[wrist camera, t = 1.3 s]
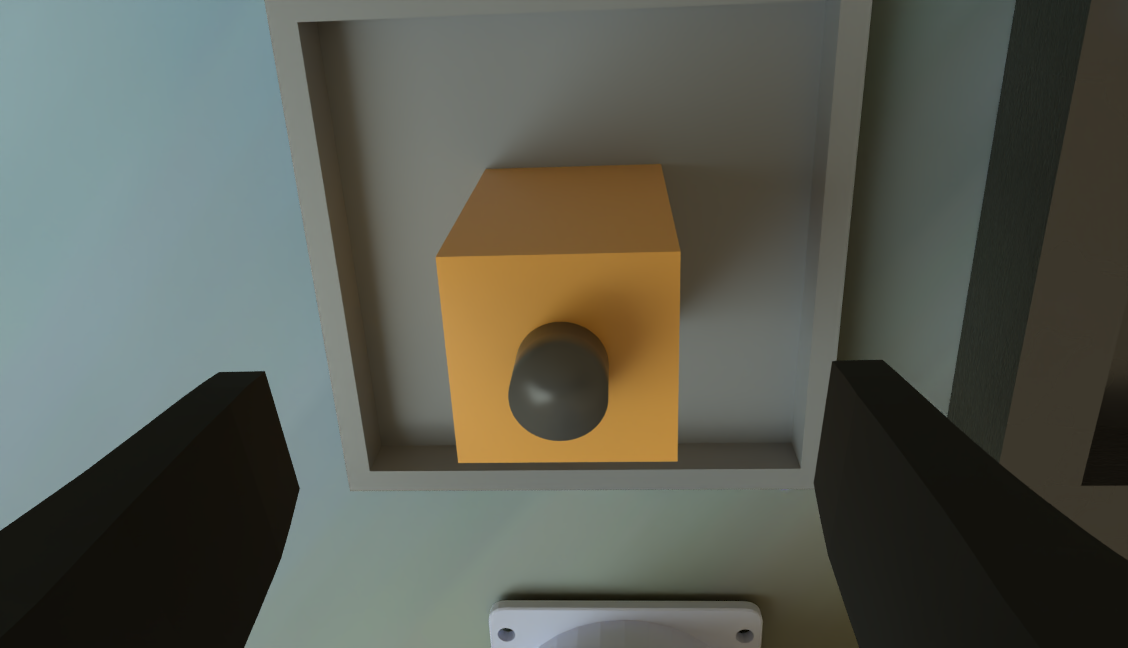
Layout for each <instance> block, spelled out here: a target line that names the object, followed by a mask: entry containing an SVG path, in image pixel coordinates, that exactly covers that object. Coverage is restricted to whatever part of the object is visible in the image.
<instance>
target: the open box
mask: <svg viewBox="0 0 1128 648" xmlns="http://www.w3.org/2000/svg"><path fill="white" fill-rule="evenodd" d="M947 418H948V419H949V420H950V421H951V422H952V423H953V424H954V425H956V426H957V427H958V428H959V429H960V430H961V431H962V432H964V433H965V434H966V435H967V436H968V437H969V438H970V439H972V440H973V441H974V442H975V443H976V444H977V445H978V446H980V447H981V448H982V449H983V450H984V451H985V452H987V453H988V454H989V455H990V456H991V457H992V458H994V459H995V460H996V461H997V462H998V463H1000V464H1001V465H1002V466H1003V467H1004V468H1006V469H1007V470H1008V471H1009V472H1010V473H1012V474H1013V475H1014V476H1015V477H1017V478H1018V479H1019V480H1020V481H1022V482H1023V483H1024V484H1025V485H1027V486H1028V487H1029V488H1030V489H1032V490H1033V491H1034V492H1035V493H1037V494H1038V495H1039V496H1041V497H1042V498H1043V499H1044V500H1046V501H1047V502H1048V503H1050V504H1051V505H1052V506H1054V507H1055V508H1056V509H1058V510H1059V511H1060V512H1062V513H1063V514H1064V515H1065V516H1067V517H1068V518H1069V519H1071V520H1072V521H1073V522H1075V523H1076V524H1077V525H1079V526H1080V527H1081V528H1083V529H1084V530H1085V531H1087V532H1088V533H1089V534H1091V535H1092V536H1094V537H1095V538H1096V539H1098V540H1099V541H1101V542H1102V543H1103V544H1105V545H1106V546H1108V547H1109V548H1111V549H1112V550H1113V551H1115V552H1116V553H1118V554H1119V555H1121V556H1122V557H1124V558H1125V559H1127V560H1128V0H1016V5H1015V11H1014V17H1013V23H1012V29H1011V35H1010V41H1009V47H1008V53H1007V59H1006V65H1005V71H1004V77H1003V84H1002V90H1001V96H1000V102H999V108H998V114H997V120H996V126H995V132H994V138H993V144H992V150H991V156H990V162H989V168H988V174H987V181H986V187H985V193H984V199H983V205H982V211H981V217H980V223H979V229H978V235H977V241H976V247H975V253H974V259H973V265H972V272H971V278H970V284H969V290H968V296H967V302H966V308H965V314H964V320H963V326H962V332H961V338H960V344H959V350H958V356H957V362H956V369H955V375H954V381H953V387H952V393H951V399H950V405H949V411H948V417H947Z"/></svg>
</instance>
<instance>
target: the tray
mask: <svg viewBox="0 0 1128 648" xmlns="http://www.w3.org/2000/svg"><path fill="white" fill-rule="evenodd" d="M264 1H265V7H266V13H267V19H268V24H269V30H270V36H271V42H272V47H273V53H274V59H275V64H276V70H277V76H278V82H279V87H280V93H281V99H282V104H283V110H284V116H285V122H286V127H287V133H288V139H289V145H290V150H291V156H292V162H293V167H294V173H295V179H296V185H297V190H298V196H299V202H300V207H301V213H302V219H303V225H304V230H305V236H306V242H307V248H308V253H309V259H310V265H311V270H312V276H313V282H314V288H315V293H316V299H317V305H318V310H319V316H320V322H321V328H322V333H323V339H324V345H325V351H326V356H327V362H328V368H329V373H330V379H331V385H332V391H333V396H334V402H335V408H336V413H337V419H338V425H339V431H340V436H341V442H342V448H343V454H344V459H345V465H346V471H347V476H348V482H349V488H350V491H486V490H706V489H815V488H814V477H815V470H816V464H817V457H818V450H819V444H820V437H821V431H822V424H823V417H824V411H825V404H826V398H827V391H828V385H829V378H830V371H831V365H832V361H837V351H838V341H839V331H840V321H841V311H842V301H843V291H844V281H845V271H846V261H847V251H848V241H849V231H850V221H851V211H852V201H853V191H854V181H855V171H856V161H857V151H858V141H859V130H860V120H861V110H862V100H863V90H864V80H865V70H866V60H867V50H868V40H869V30H870V20H871V10H872V0H264ZM640 164H661V166H662V171H663V175H664V180H665V184H666V189H667V193H668V198H669V202H670V206H671V211H672V215H673V220H674V224H675V229H676V233H677V238H678V242H679V246H680V251H681V261H680V328H679V395H678V461H677V462H528V463H458V457H457V448H456V439H455V430H454V420H453V411H452V402H451V393H450V384H449V375H448V366H447V357H446V348H445V339H444V330H443V321H442V312H441V303H440V293H439V284H438V275H437V266H436V255H437V254H438V252H439V250H440V248H441V246H442V245H443V243H444V241H445V239H446V238H447V236H448V234H449V232H450V231H451V229H452V227H453V225H454V224H455V222H456V220H457V218H458V217H459V215H460V213H461V211H462V209H463V208H464V206H465V204H466V202H467V201H468V199H469V197H470V195H471V194H472V192H473V190H474V188H475V187H476V185H477V183H478V181H479V180H480V178H481V176H482V174H483V173H484V171H485V169H504V168H538V167H572V166H606V165H640Z"/></svg>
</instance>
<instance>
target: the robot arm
mask: <svg viewBox="0 0 1128 648" xmlns="http://www.w3.org/2000/svg"><path fill="white" fill-rule="evenodd" d="M814 488H815V493H816V498H817V504H818V509H819V514H820V519H821V524H822V529H823V533H824V538H825V543H826V547H827V552H828V556H829V559H830V562H831V565H832V568H833V571H834V575H835V577H836V580H837V583H838V586H839V589H840V592H841V595H842V598H843V601H844V604H845V607H846V610H847V613H848V616H849V619H850V622H851V625H852V628H853V630H854V633H855V636H856V639H857V642H858V645H859V648H1128V560H1127V559H1125V558H1124V557H1122V556H1121V555H1119V554H1118V553H1116V552H1115V551H1113V550H1112V549H1111V548H1109V547H1108V546H1106V545H1105V544H1103V543H1102V542H1101V541H1099V540H1098V539H1096V538H1095V537H1094V536H1092V535H1091V534H1089V533H1088V532H1087V531H1085V530H1084V529H1083V528H1081V527H1080V526H1079V525H1077V524H1076V523H1075V522H1073V521H1072V520H1071V519H1069V518H1068V517H1067V516H1065V515H1064V514H1063V513H1062V512H1060V511H1059V510H1058V509H1056V508H1055V507H1054V506H1052V505H1051V504H1050V503H1048V502H1047V501H1046V500H1044V499H1043V498H1042V497H1041V496H1039V495H1038V494H1037V493H1035V492H1034V491H1033V490H1032V489H1030V488H1029V487H1028V486H1027V485H1025V484H1024V483H1023V482H1022V481H1020V480H1019V479H1018V478H1017V477H1015V476H1014V475H1013V474H1012V473H1010V472H1009V471H1008V470H1007V469H1006V468H1004V467H1003V466H1002V465H1001V464H1000V463H998V462H997V461H996V460H995V459H994V458H992V457H991V456H990V455H989V454H988V453H987V452H985V451H984V450H983V449H982V448H981V447H980V446H978V445H977V444H976V443H975V442H974V441H973V440H972V439H970V438H969V437H968V436H967V435H966V434H965V433H964V432H962V431H961V430H960V429H959V428H958V427H957V426H956V425H954V424H953V423H952V422H951V421H950V420H949V419H948V418H947V417H946V416H944V415H943V414H942V413H941V412H940V411H939V410H938V409H937V408H936V407H934V406H933V405H932V404H931V403H930V402H929V401H928V400H927V399H926V398H924V397H923V396H922V395H921V394H920V393H919V392H918V391H917V390H916V389H915V388H913V387H912V386H911V385H910V384H909V383H908V382H907V381H906V380H905V379H904V378H902V377H901V376H900V375H899V374H898V373H897V372H896V371H895V370H893V369H892V368H891V367H890V366H889V365H888V364H887V363H885V362H884V361H883V360H851V361H832V365H831V371H830V378H829V385H828V391H827V398H826V404H825V411H824V417H823V424H822V431H821V437H820V444H819V450H818V457H817V464H816V470H815V477H814ZM299 489H300V488H299V485H298V481H297V478H296V475H295V471H294V468H293V464H292V461H291V458H290V454H289V451H288V448H287V444H286V441H285V438H284V434H283V431H282V427H281V424H280V421H279V417H278V414H277V411H276V407H275V404H274V400H273V397H272V394H271V390H270V387H269V384H268V380H267V377H266V374H265V371H255V372H219V373H217V374H216V375H214V376H212V377H211V378H209V379H208V380H206V381H205V382H203V383H202V384H201V385H199V386H198V387H196V388H195V389H194V390H192V391H191V392H190V393H188V394H187V395H185V396H184V397H183V398H181V399H180V400H179V401H177V402H176V403H175V404H173V405H172V406H171V407H170V408H168V409H167V410H166V411H164V412H163V413H162V414H160V415H159V416H158V417H156V418H155V419H154V420H152V421H151V422H150V423H149V424H147V425H146V426H145V427H143V428H142V429H141V430H139V431H138V432H137V433H135V434H134V435H133V436H131V437H130V438H129V439H127V440H126V441H125V442H123V443H122V444H121V445H119V446H118V447H117V448H116V449H114V450H113V451H112V452H110V453H109V454H108V455H106V456H105V457H104V458H102V459H101V460H100V461H98V462H97V463H96V464H94V465H93V466H92V467H90V468H89V469H88V470H86V471H85V472H84V473H82V474H81V475H79V476H78V477H77V478H75V479H74V480H72V481H71V482H69V483H68V484H67V485H65V486H64V487H62V488H61V489H59V490H58V491H57V492H55V493H54V494H52V495H51V496H49V497H48V498H47V499H45V500H44V501H42V502H41V503H39V504H38V505H37V506H35V507H34V508H32V509H31V510H29V511H28V512H27V513H25V514H24V515H22V516H21V517H19V518H18V519H17V520H15V521H14V522H12V523H11V524H9V525H8V526H7V527H5V528H4V529H2V530H1V531H0V648H244V647H245V644H246V642H247V640H248V637H249V635H250V632H251V630H252V628H253V625H254V623H255V621H256V618H257V616H258V614H259V611H260V609H261V606H262V604H263V601H264V599H265V597H266V594H267V592H268V589H269V587H270V585H271V582H272V580H273V577H274V575H275V572H276V570H277V567H278V565H279V562H280V560H281V557H282V553H283V550H284V546H285V543H286V539H287V536H288V532H289V529H290V525H291V521H292V517H293V513H294V509H295V505H296V501H297V497H298V493H299ZM762 626H763V620H762V615H761V611H760V609H759V607H758V606H757V605H756V604H754V603H752V602H747V601H576V600H504V601H499V602H497V603H495V604H494V605H493V606H492V607H491V610H490V615H489V629H490V638H491V648H761V641H762ZM503 628H509V629H511V630H513V631H510V632H507V631H504V630H502V629H503ZM744 629H746V630H750V631H748V632H746V633H739V631H740V630H744Z"/></svg>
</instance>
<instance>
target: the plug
mask: <svg viewBox="0 0 1128 648" xmlns="http://www.w3.org/2000/svg"><path fill="white" fill-rule="evenodd" d="M680 261H681V251H680V246H679V242H678V238H677V233H676V229H675V224H674V220H673V215H672V211H671V206H670V202H669V198H668V193H667V189H666V184H665V180H664V175H663V171H662V166H661V164H640V165H606V166H572V167H538V168H504V169H485V171H484V173H483V174H482V176H481V178H480V180H479V181H478V183H477V185H476V187H475V188H474V190H473V192H472V194H471V195H470V197H469V199H468V201H467V202H466V204H465V206H464V208H463V209H462V211H461V213H460V215H459V217H458V218H457V220H456V222H455V224H454V225H453V227H452V229H451V231H450V232H449V234H448V236H447V238H446V239H445V241H444V243H443V245H442V246H441V248H440V250H439V252H438V254H437V255H436V266H437V275H438V284H439V293H440V303H441V312H442V321H443V330H444V339H445V348H446V357H447V366H448V375H449V384H450V393H451V402H452V411H453V420H454V430H455V439H456V448H457V457H458V463H528V462H677V461H678V395H679V328H680Z"/></svg>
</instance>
